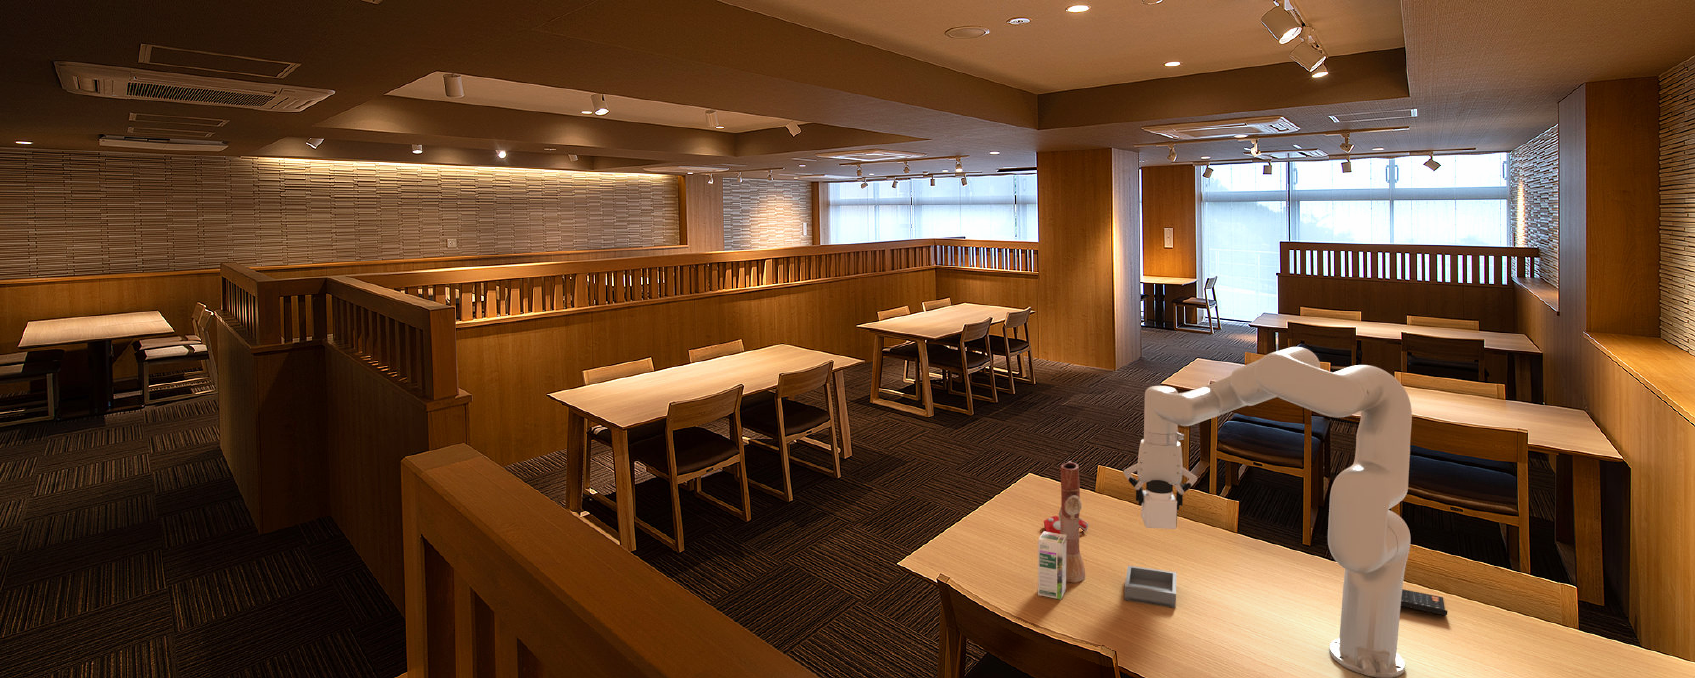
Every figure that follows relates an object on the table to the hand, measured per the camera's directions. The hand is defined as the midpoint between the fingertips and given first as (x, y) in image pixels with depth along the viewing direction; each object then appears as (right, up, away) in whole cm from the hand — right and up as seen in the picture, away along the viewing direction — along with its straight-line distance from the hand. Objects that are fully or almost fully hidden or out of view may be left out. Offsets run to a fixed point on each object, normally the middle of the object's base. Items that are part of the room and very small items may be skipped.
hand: (1158, 505), depth 188 cm
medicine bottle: (0, -5, +1) cm, 5 cm away
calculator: (+53, -20, -15) cm, 58 cm away
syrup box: (-27, -21, -3) cm, 34 cm away
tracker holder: (-14, -15, +30) cm, 37 cm away
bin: (-4, -20, -5) cm, 21 cm away
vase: (-21, -19, +4) cm, 29 cm away
